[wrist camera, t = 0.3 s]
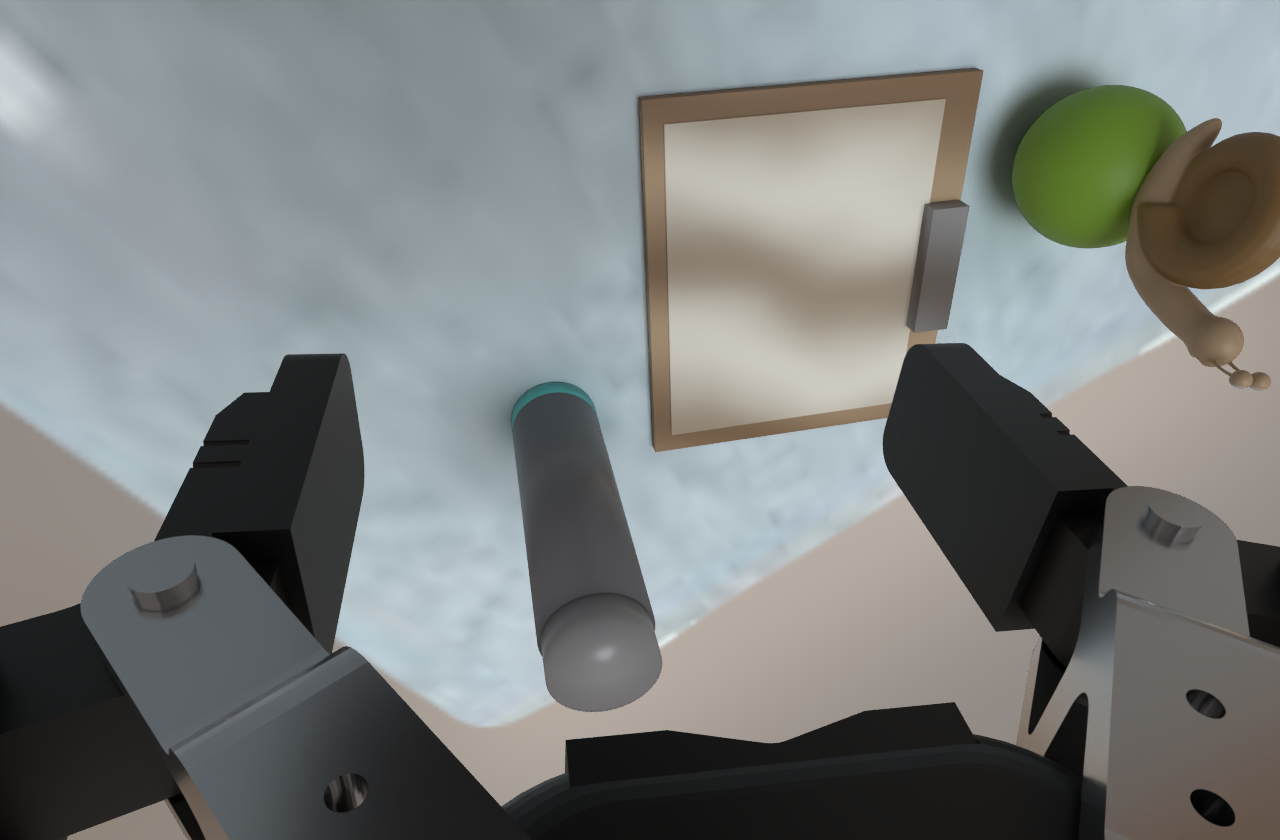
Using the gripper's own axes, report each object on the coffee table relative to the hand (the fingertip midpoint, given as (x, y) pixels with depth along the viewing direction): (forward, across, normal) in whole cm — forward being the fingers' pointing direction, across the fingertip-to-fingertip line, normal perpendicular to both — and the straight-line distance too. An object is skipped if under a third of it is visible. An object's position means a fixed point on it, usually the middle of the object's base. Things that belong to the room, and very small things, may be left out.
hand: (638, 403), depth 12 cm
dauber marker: (+18, 0, +12) cm, 21 cm away
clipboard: (+18, -10, +6) cm, 21 cm away
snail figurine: (+19, -19, +2) cm, 26 cm away
